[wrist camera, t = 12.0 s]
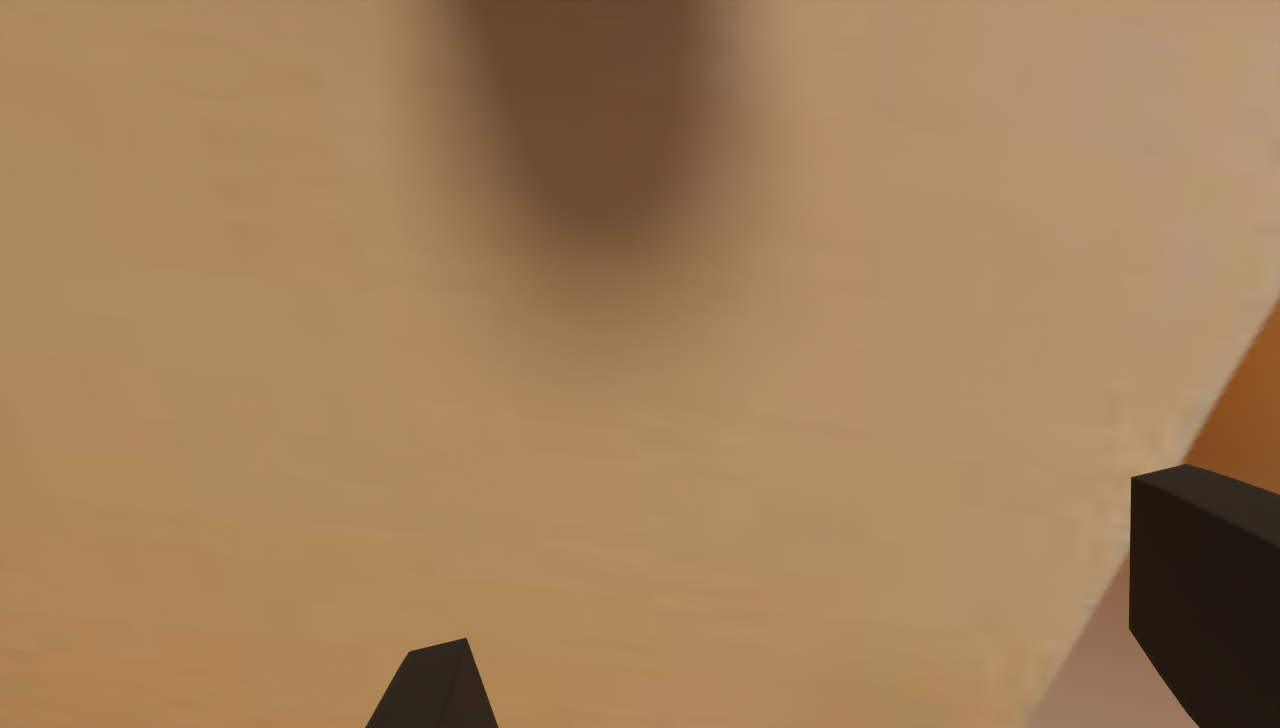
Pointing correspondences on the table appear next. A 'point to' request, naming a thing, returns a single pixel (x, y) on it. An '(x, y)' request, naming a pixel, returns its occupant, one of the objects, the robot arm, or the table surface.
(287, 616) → the table surface
